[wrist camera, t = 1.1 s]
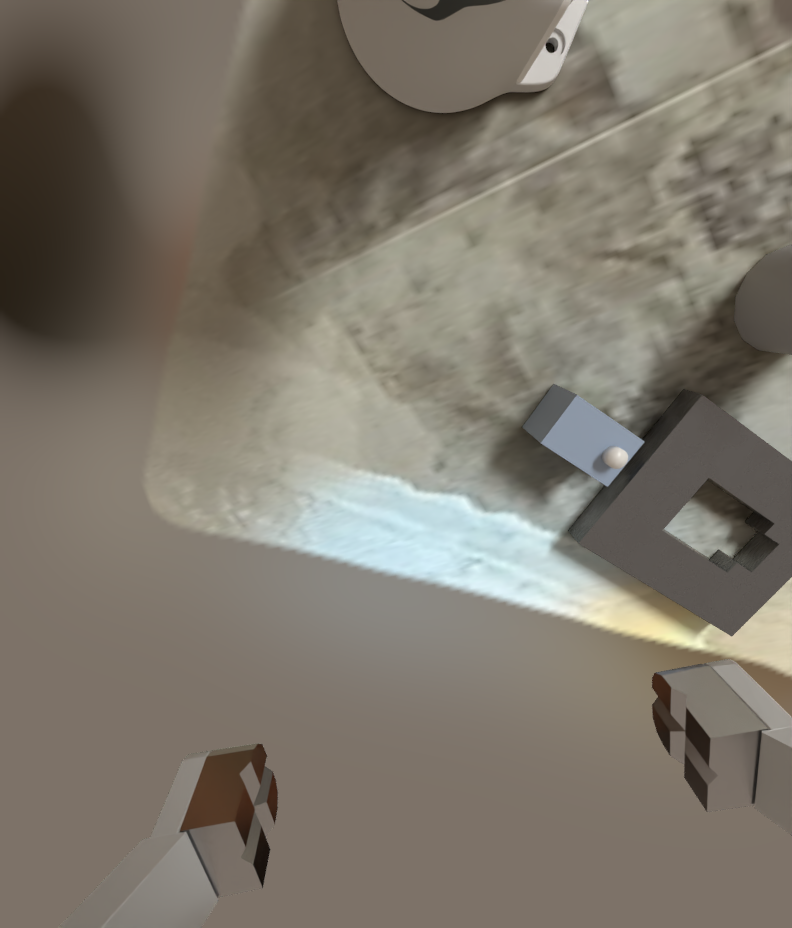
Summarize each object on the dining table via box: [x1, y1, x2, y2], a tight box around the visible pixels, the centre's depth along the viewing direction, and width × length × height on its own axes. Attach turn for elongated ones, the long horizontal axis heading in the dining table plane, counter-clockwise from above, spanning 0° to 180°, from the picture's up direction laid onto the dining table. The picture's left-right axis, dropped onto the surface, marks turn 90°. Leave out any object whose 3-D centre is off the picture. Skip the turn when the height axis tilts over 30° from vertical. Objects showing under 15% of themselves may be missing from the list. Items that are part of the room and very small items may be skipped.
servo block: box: [522, 384, 644, 487], centre depth 40 cm, size 4×8×6 cm, turn 57°
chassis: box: [568, 389, 792, 636], centre depth 45 cm, size 16×20×2 cm
